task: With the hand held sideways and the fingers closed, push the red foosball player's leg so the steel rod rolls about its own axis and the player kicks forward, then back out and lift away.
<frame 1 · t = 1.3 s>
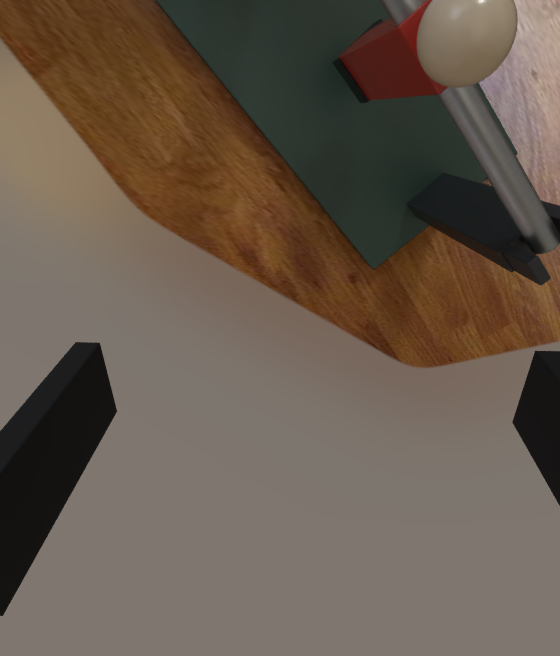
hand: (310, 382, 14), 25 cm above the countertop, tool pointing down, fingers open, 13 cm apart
foosball frame: (343, 75, 33), on the countertop
foosball rod: (383, 12, 20), point 13 cm above the countertop, hinge at 0.0°
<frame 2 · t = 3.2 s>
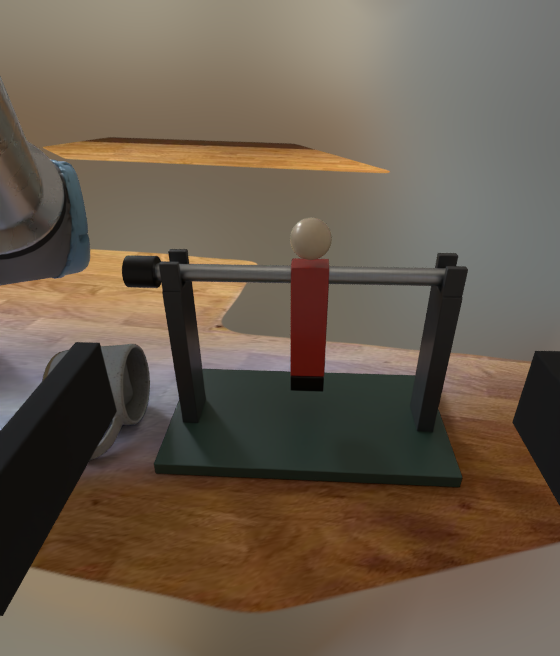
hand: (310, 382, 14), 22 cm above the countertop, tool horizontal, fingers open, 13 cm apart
foosball frame: (305, 423, 45), on the countertop
foosball rod: (285, 308, 38), point 13 cm above the countertop, hinge at 0.0°
ceramic mug: (105, 424, 45), on the countertop
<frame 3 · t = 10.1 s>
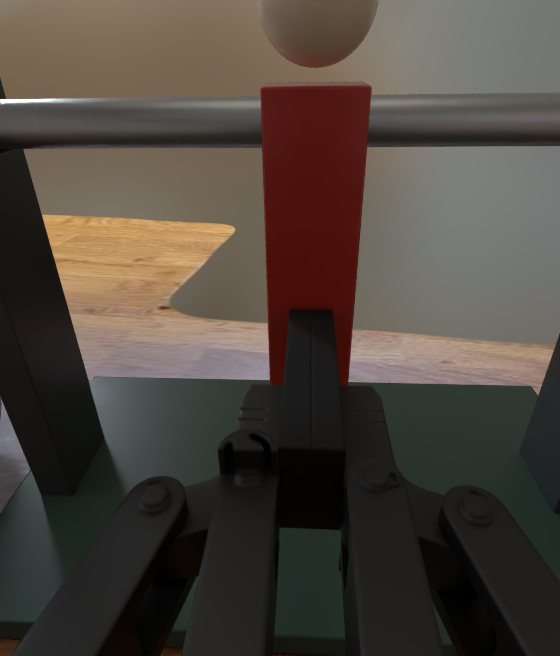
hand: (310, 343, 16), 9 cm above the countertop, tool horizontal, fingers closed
foosball frame: (306, 489, 22), on the countertop
foosball rod: (253, 224, 15), point 13 cm above the countertop, hinge at 1.1°, touching gripper
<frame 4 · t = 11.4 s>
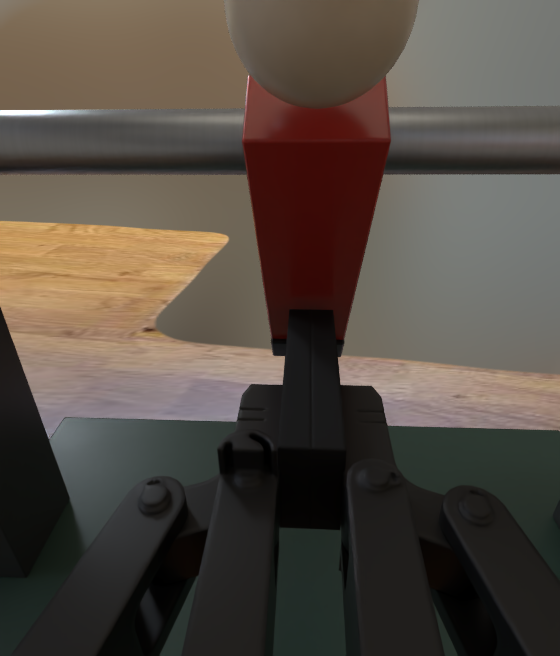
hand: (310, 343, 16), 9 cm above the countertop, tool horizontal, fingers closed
foosball frame: (303, 563, 18), on the countertop
foosball rod: (243, 221, 13), point 14 cm above the countertop, hinge at 36.0°, touching gripper
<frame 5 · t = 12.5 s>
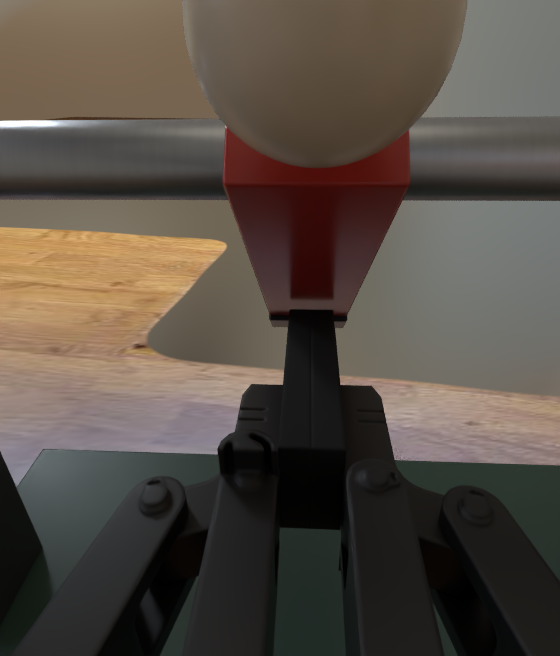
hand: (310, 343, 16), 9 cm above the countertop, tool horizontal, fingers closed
foosball frame: (303, 625, 16), on the countertop
foosball rod: (233, 220, 12), point 14 cm above the countertop, hinge at 49.9°, touching gripper
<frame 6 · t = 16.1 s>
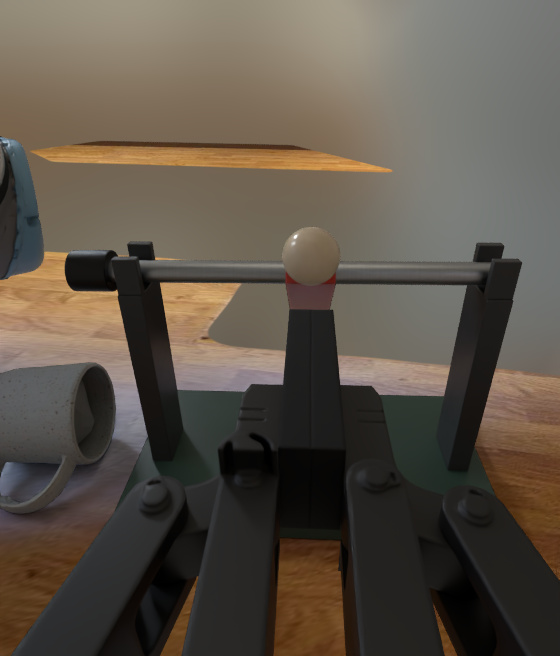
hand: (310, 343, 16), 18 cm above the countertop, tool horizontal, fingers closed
foosball frame: (307, 459, 36), on the countertop
foosball rod: (281, 282, 31), point 14 cm above the countertop, hinge at 50.4°
ceramic mug: (57, 462, 36), on the countertop
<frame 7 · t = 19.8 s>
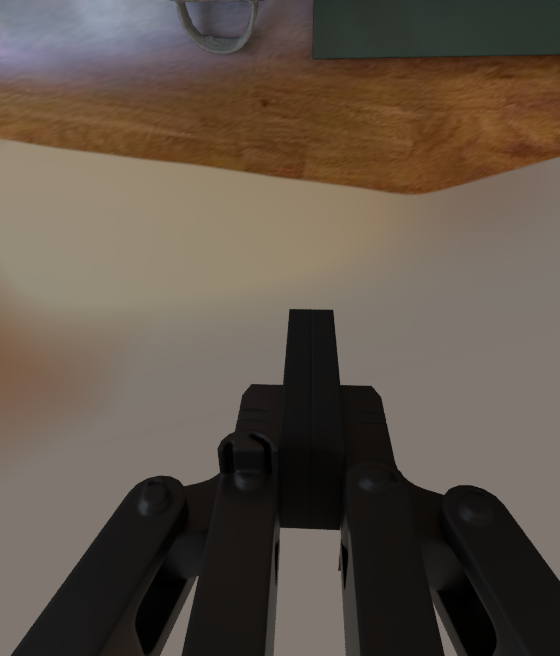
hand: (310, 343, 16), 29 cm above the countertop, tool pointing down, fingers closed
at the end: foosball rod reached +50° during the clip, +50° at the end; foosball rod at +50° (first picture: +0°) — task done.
